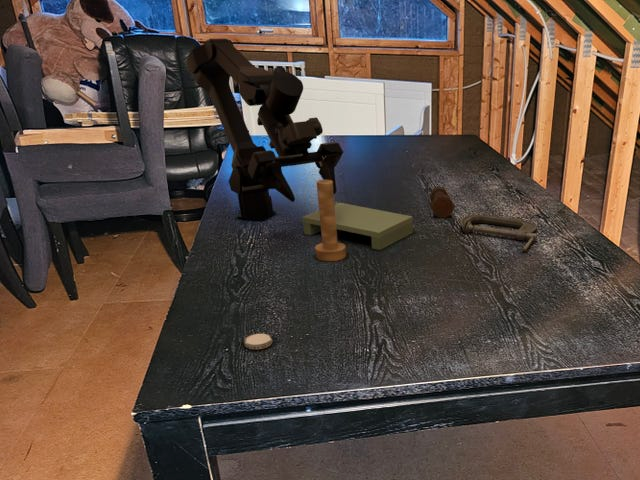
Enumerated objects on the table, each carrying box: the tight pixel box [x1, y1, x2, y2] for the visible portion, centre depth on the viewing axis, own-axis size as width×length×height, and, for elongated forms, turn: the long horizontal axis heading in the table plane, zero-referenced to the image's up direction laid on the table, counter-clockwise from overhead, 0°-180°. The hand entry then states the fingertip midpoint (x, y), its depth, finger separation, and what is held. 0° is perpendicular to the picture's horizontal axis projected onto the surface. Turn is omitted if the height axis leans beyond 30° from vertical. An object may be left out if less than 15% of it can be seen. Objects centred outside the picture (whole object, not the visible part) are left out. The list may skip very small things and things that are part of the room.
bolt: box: [428, 186, 456, 219], centre depth 161 cm, size 6×5×15 cm
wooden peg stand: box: [314, 179, 347, 262], centre depth 128 cm, size 6×6×15 cm
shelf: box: [301, 202, 414, 251], centre depth 143 cm, size 20×13×4 cm, turn 63°
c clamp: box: [459, 214, 538, 252], centre depth 146 cm, size 20×17×3 cm
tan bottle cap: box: [243, 333, 273, 350], centre depth 99 cm, size 4×4×1 cm
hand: (314, 196), depth 129 cm, fingers open, 9 cm apart
